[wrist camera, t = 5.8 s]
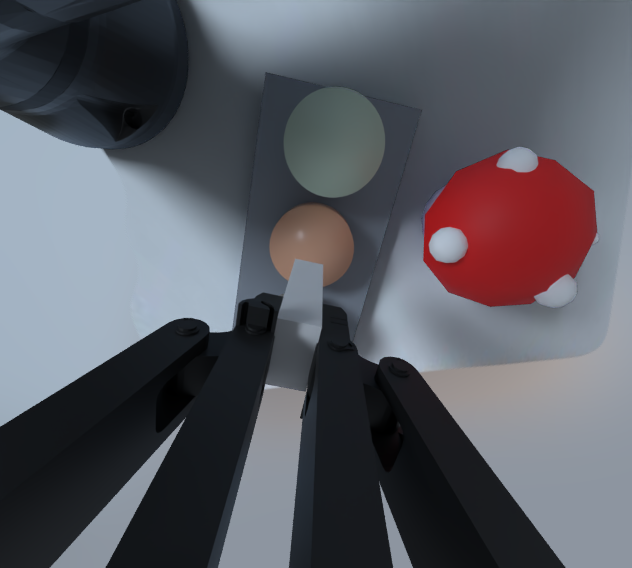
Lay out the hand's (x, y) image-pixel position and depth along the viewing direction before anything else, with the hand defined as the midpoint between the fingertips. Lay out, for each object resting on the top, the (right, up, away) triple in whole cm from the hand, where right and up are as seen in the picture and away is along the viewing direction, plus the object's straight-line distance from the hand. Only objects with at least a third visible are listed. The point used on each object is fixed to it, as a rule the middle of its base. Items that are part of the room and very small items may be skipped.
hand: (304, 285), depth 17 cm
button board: (0, +5, +13) cm, 14 cm away
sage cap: (+2, +10, +6) cm, 12 cm away
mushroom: (+14, +6, +12) cm, 19 cm away
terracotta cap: (0, +4, +10) cm, 10 cm away
